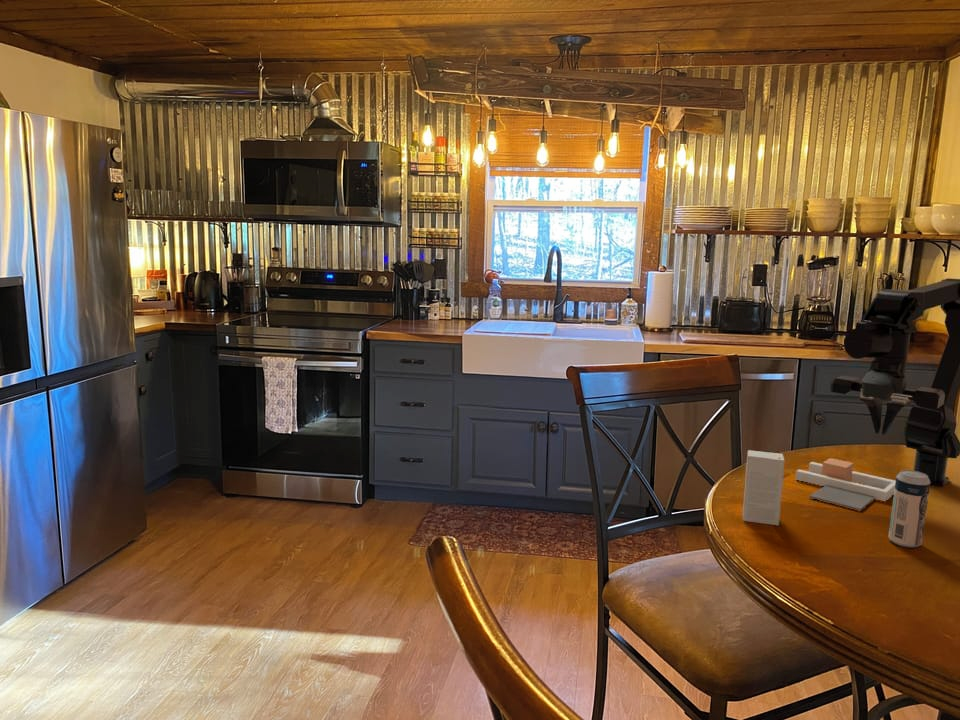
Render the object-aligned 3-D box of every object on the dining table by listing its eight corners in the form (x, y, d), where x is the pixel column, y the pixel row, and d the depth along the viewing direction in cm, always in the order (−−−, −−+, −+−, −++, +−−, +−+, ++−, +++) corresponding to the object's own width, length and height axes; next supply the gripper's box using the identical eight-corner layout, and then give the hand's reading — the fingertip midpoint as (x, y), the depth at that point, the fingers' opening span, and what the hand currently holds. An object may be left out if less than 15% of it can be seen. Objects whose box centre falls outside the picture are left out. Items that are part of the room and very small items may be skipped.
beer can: (926, 550, 116) (936, 480, 113) (894, 547, 116) (903, 477, 114) (914, 538, 120) (924, 470, 118) (883, 535, 121) (892, 468, 119)
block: (828, 478, 150) (830, 457, 149) (851, 483, 147) (853, 462, 146) (820, 483, 147) (822, 462, 146) (843, 489, 144) (846, 467, 143)
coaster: (825, 487, 144) (826, 484, 144) (874, 499, 138) (874, 496, 138) (809, 498, 138) (810, 495, 138) (860, 511, 132) (860, 508, 131)
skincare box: (777, 517, 128) (784, 453, 126) (778, 526, 124) (785, 460, 122) (741, 512, 130) (747, 449, 128) (741, 521, 126) (747, 456, 124)
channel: (810, 470, 155) (811, 461, 154) (897, 490, 143) (898, 481, 143) (795, 480, 148) (796, 470, 148) (884, 502, 137) (886, 492, 136)
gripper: (825, 353, 138) (816, 431, 141) (936, 367, 125) (924, 453, 128) (843, 348, 146) (835, 421, 149) (950, 360, 133) (939, 441, 136)
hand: (880, 433), depth 140 cm, fingers closed
